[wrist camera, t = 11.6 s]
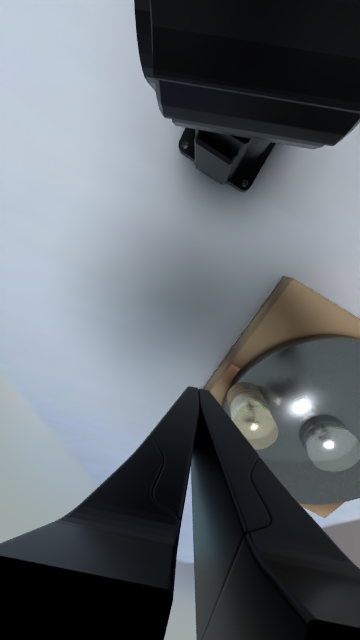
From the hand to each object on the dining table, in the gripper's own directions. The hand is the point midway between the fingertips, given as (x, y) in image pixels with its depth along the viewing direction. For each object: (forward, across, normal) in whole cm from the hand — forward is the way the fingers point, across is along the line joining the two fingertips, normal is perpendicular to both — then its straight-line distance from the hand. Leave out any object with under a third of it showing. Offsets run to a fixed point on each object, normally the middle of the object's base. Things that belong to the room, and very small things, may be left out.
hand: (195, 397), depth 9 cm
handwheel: (+11, -13, +8) cm, 18 cm away
